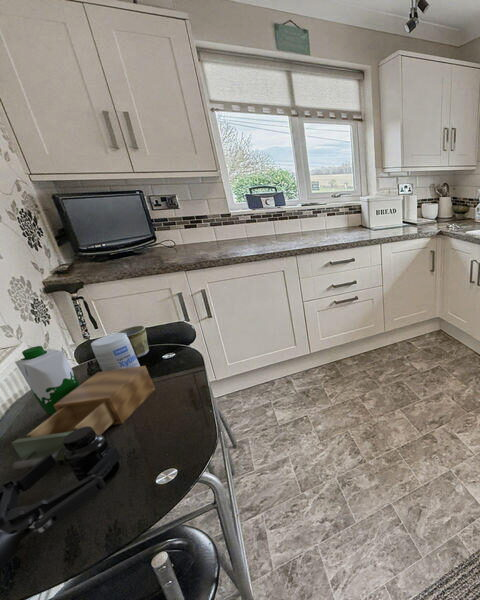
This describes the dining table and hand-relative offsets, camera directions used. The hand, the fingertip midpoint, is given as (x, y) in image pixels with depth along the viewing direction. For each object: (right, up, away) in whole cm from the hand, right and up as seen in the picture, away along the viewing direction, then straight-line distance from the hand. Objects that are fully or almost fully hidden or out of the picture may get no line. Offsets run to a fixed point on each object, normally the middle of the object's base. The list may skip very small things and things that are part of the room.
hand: (85, 455), depth 70 cm
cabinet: (-17, +1, +26) cm, 31 cm away
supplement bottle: (0, -6, +3) cm, 7 cm away
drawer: (-15, -3, +12) cm, 19 cm away
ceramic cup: (-37, +12, +59) cm, 71 cm away
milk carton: (-33, +1, +29) cm, 44 cm away
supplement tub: (-28, +7, +43) cm, 52 cm away
